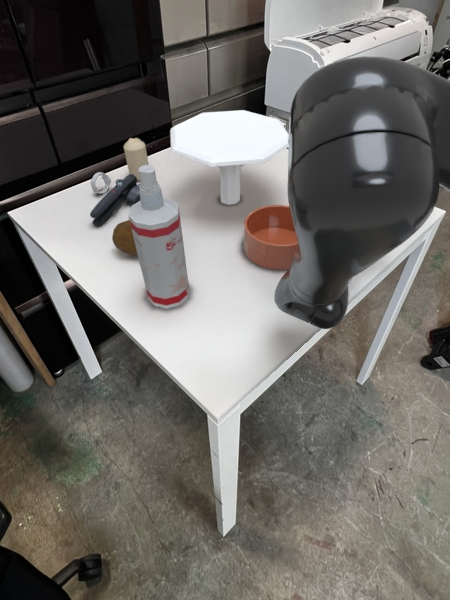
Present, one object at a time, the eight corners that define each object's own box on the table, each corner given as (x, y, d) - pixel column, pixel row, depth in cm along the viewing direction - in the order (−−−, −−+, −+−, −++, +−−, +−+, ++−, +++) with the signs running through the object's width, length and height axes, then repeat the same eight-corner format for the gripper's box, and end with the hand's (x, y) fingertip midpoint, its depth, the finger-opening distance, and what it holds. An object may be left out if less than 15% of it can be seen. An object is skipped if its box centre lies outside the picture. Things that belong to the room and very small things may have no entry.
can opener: (130, 188, 97) (125, 168, 93) (151, 194, 95) (147, 174, 91) (82, 223, 87) (75, 202, 83) (105, 231, 84) (99, 210, 80)
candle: (136, 183, 99) (128, 146, 92) (126, 175, 102) (118, 139, 95) (154, 176, 101) (148, 140, 94) (144, 169, 104) (137, 133, 97)
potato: (116, 241, 82) (107, 211, 76) (172, 235, 83) (168, 204, 77) (115, 265, 76) (105, 234, 70) (175, 258, 77) (171, 227, 72)
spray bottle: (151, 279, 73) (124, 156, 55) (189, 278, 73) (175, 155, 55) (146, 309, 67) (114, 183, 49) (187, 308, 67) (170, 181, 49)
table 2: (195, 167, 105) (190, 103, 93) (294, 178, 99) (302, 113, 87) (156, 222, 86) (143, 152, 74) (275, 241, 81) (282, 168, 69)
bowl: (314, 233, 82) (319, 210, 78) (305, 275, 73) (310, 251, 69) (252, 224, 85) (253, 200, 81) (236, 263, 76) (236, 239, 72)
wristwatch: (113, 189, 97) (108, 171, 94) (99, 197, 94) (94, 179, 91) (105, 186, 98) (100, 168, 95) (91, 195, 95) (86, 176, 92)
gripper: (388, 229, 60) (404, 183, 70) (303, 209, 64) (329, 168, 74) (375, 264, 65) (392, 217, 75) (298, 243, 70) (323, 201, 80)
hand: (360, 193), depth 75 cm, fingers open, 8 cm apart
